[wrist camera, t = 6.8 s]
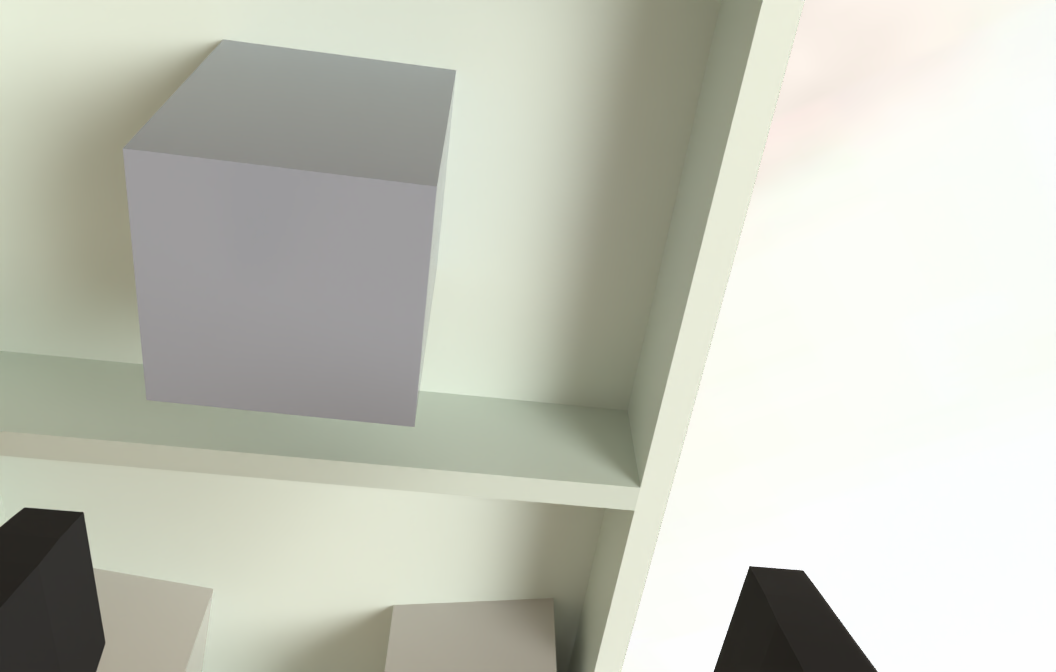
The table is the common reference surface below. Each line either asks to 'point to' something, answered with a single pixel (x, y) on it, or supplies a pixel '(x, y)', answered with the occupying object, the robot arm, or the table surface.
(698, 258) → the tray
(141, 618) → the white block
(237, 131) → the grey rectangular block
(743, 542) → the table surface
